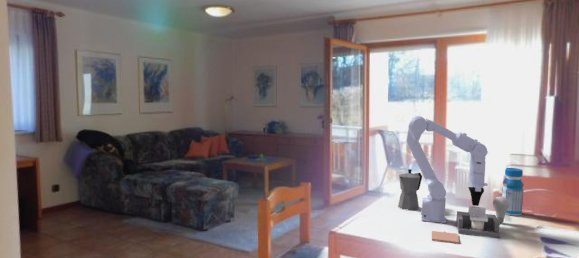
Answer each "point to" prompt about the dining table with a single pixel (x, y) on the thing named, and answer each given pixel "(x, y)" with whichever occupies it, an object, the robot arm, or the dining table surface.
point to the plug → (477, 225)
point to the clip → (477, 214)
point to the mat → (445, 237)
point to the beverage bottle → (513, 190)
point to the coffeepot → (409, 190)
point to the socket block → (491, 225)
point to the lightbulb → (500, 207)
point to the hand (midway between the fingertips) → (475, 205)
